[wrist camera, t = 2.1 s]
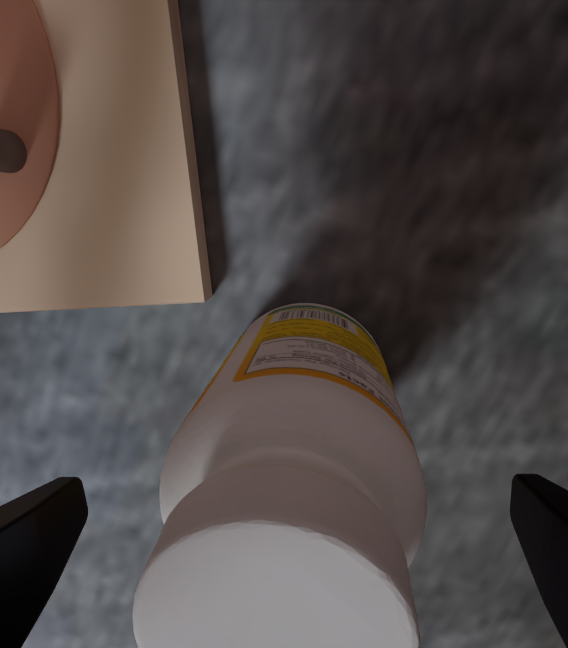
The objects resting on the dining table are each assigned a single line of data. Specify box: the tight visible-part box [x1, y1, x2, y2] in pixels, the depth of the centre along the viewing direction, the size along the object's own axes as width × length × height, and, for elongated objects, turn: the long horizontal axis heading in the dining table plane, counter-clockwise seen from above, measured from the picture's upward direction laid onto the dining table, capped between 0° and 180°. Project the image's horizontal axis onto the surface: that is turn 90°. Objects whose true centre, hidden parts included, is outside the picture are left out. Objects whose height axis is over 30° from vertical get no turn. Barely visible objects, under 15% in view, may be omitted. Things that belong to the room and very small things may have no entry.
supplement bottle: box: [133, 303, 427, 648], centre depth 10 cm, size 5×5×10 cm
